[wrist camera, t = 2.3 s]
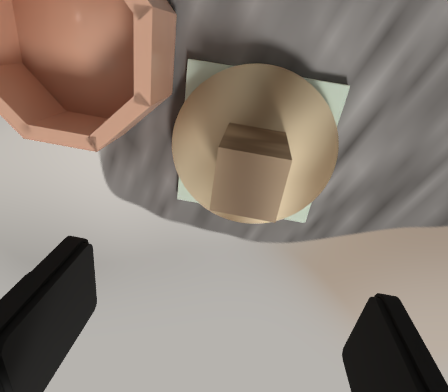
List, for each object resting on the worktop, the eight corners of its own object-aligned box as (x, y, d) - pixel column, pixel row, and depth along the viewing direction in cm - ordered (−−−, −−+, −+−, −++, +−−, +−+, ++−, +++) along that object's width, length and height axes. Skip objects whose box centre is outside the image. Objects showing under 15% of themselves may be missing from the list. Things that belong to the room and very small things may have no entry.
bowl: (182, -54, 18) (154, -86, 13) (171, 139, 23) (149, 161, 19) (-8, -83, 18) (-96, -122, 14) (27, 113, 24) (-27, 129, 19)
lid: (360, 79, 19) (400, 95, 13) (309, 228, 25) (322, 284, 19) (181, 49, 20) (146, 52, 14) (171, 202, 25) (143, 249, 20)
